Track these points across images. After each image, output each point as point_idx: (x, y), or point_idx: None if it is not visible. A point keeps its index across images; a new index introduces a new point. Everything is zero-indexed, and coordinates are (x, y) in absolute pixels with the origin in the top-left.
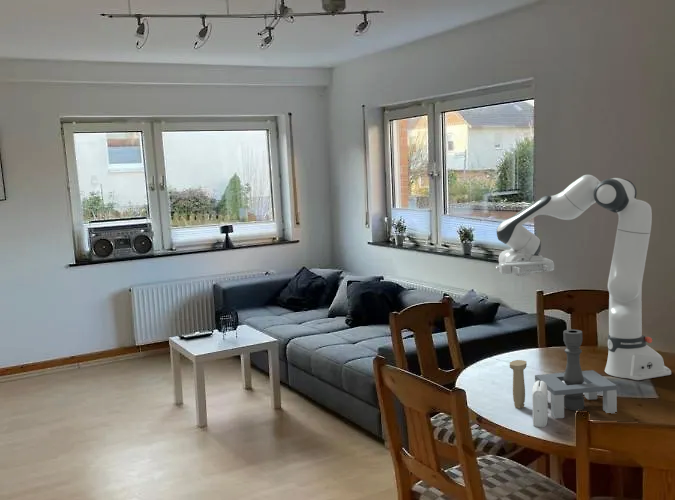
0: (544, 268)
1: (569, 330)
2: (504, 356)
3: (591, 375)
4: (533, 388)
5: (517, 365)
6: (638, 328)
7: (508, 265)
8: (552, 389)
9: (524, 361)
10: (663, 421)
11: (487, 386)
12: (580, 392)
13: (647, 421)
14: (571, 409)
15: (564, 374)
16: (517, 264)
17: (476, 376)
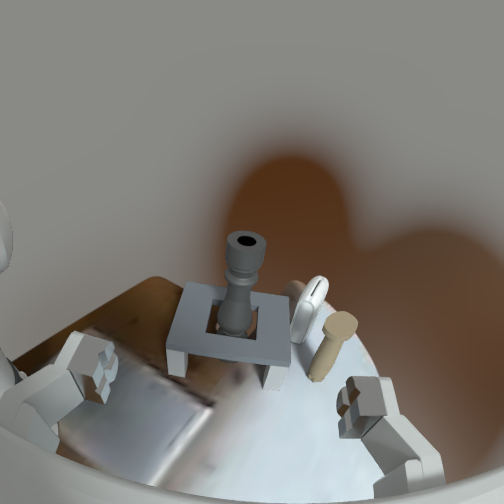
0: (109, 347)
1: (248, 247)
2: None
3: (190, 323)
4: (327, 286)
5: (345, 313)
6: None
7: (482, 473)
8: (288, 301)
9: (327, 325)
10: (155, 279)
11: (343, 484)
12: None
13: (171, 285)
14: None
15: (250, 317)
16: (391, 497)
17: None
